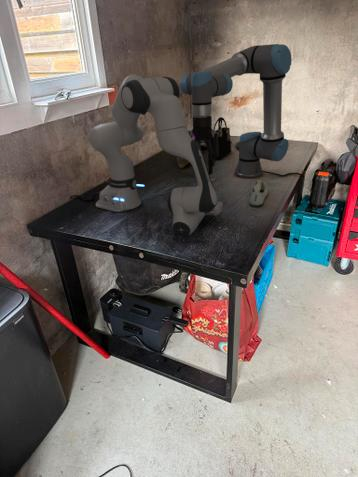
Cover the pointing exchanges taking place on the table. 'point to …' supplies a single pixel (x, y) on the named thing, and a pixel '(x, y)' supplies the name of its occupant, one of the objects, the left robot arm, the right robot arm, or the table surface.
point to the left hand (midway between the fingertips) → (203, 198)
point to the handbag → (222, 139)
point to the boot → (182, 162)
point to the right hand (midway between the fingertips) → (203, 173)
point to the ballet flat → (258, 193)
